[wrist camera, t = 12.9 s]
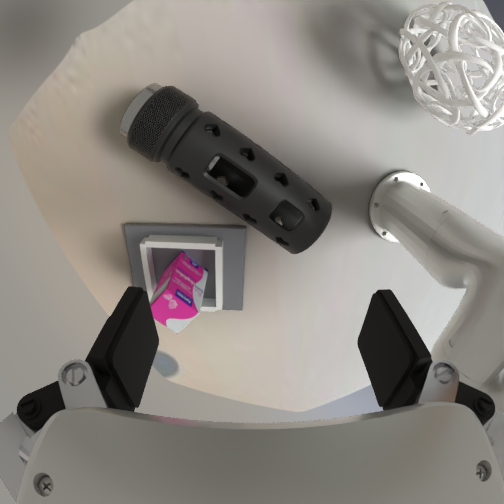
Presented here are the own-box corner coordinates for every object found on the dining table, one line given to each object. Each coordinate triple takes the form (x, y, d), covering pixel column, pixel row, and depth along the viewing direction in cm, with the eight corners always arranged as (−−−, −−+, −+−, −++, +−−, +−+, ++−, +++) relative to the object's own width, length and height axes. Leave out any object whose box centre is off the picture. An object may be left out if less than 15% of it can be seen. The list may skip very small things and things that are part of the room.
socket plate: (246, 226, 44) (246, 235, 40) (242, 306, 51) (242, 319, 48) (126, 223, 43) (118, 231, 40) (139, 300, 50) (134, 311, 47)
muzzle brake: (283, 235, 45) (292, 268, 35) (136, 135, 36) (104, 143, 27) (321, 190, 41) (342, 213, 32) (170, 82, 33) (146, 73, 24)
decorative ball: (464, 42, 26) (537, 38, 9) (463, 137, 35) (540, 163, 19) (373, 3, 26) (440, -38, 9) (373, 111, 35) (454, 119, 18)
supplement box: (210, 270, 46) (201, 315, 36) (188, 290, 48) (176, 336, 38) (182, 248, 44) (165, 289, 34) (162, 270, 46) (143, 313, 36)
